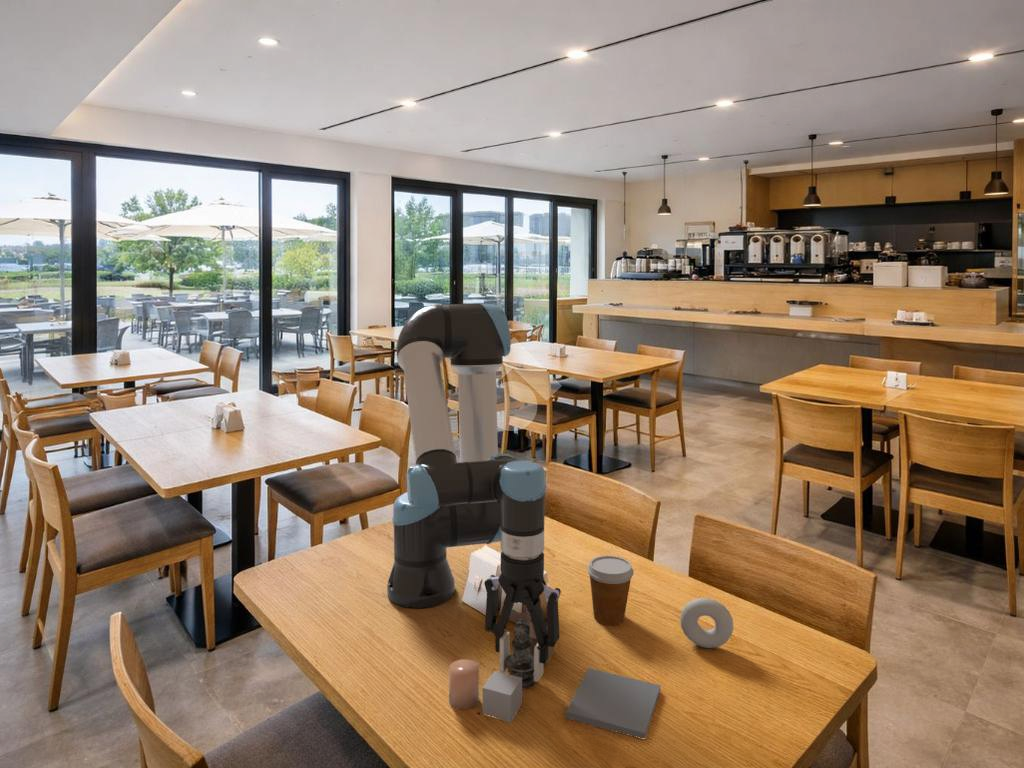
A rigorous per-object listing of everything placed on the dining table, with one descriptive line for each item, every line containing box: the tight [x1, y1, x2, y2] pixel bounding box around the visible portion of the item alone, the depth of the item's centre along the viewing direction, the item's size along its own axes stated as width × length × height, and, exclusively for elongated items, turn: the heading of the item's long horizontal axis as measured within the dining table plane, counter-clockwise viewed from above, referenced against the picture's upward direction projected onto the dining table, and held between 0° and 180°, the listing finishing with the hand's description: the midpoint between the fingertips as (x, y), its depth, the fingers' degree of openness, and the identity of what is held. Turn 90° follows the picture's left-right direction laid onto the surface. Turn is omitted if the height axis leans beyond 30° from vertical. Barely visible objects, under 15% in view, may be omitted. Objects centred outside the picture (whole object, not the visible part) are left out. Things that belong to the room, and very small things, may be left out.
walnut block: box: [528, 621, 556, 666], centre depth 126 cm, size 5×5×5 cm
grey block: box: [482, 670, 523, 723], centre depth 111 cm, size 5×5×5 cm
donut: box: [679, 597, 735, 649], centre depth 129 cm, size 10×4×10 cm, turn 70°
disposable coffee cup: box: [586, 555, 634, 626], centre depth 139 cm, size 10×10×12 cm
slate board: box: [565, 667, 661, 739], centre depth 112 cm, size 13×13×1 cm
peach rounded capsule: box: [448, 658, 480, 710], centre depth 113 cm, size 5×5×6 cm
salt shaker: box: [505, 618, 536, 690], centre depth 118 cm, size 6×6×12 cm
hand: (521, 672), depth 119 cm, fingers closed on salt shaker, 6 cm apart
